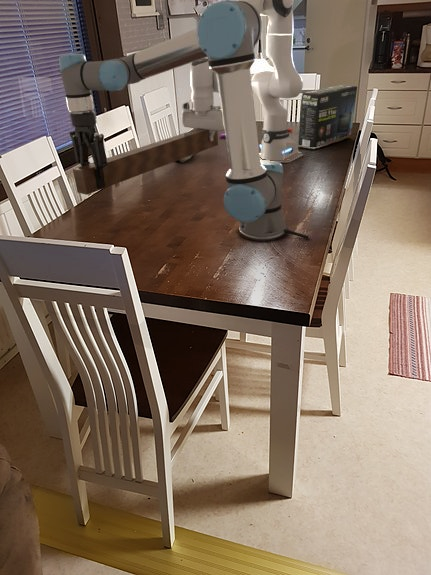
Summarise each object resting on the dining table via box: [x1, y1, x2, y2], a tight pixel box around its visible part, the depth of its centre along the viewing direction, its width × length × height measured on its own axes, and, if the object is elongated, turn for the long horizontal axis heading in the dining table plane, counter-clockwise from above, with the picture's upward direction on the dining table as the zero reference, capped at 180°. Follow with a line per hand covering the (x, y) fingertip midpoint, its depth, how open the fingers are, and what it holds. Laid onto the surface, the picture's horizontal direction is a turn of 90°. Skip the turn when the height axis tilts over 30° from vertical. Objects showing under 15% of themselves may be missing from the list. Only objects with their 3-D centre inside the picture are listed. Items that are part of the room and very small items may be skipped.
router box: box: [297, 84, 358, 151], centre depth 238 cm, size 36×11×27 cm, turn 134°
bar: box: [72, 129, 219, 196], centre depth 168 cm, size 71×5×8 cm, turn 144°
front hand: (96, 186), depth 150 cm, fingers closed on bar, 5 cm apart
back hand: (204, 140), depth 189 cm, fingers closed on bar, 5 cm apart
